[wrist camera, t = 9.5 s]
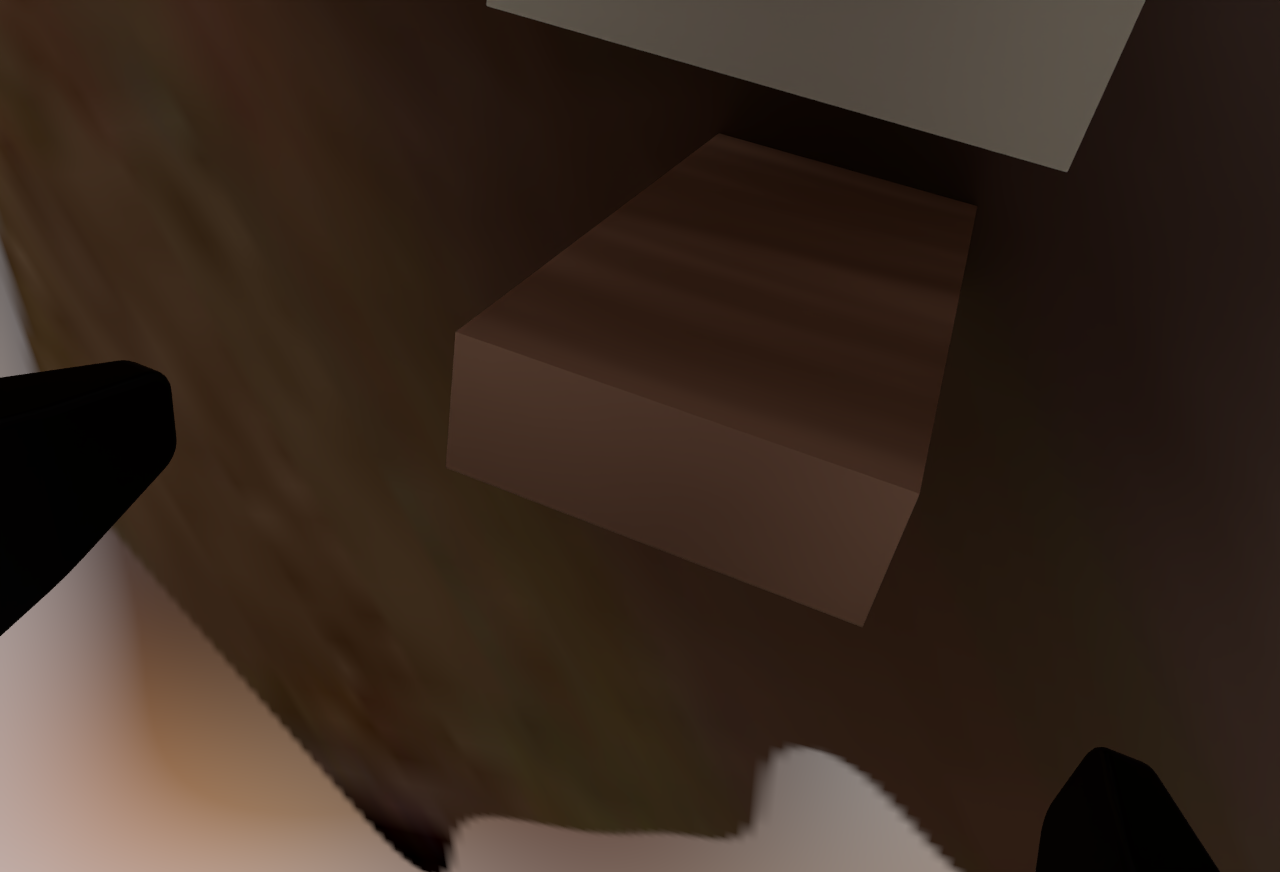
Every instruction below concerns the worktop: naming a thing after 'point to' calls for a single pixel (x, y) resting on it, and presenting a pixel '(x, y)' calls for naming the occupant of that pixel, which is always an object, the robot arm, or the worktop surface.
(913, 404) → the end domino
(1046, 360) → the worktop surface
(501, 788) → the worktop surface
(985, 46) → the domino
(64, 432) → the robot arm
